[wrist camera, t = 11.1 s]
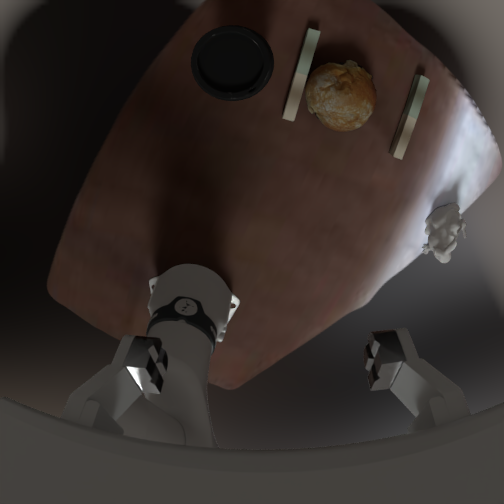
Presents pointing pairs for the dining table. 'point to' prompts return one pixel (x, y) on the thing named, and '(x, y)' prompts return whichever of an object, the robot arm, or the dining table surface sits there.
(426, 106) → the dining table surface
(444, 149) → the dining table surface
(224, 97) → the coffee cup
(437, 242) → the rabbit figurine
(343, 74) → the bread roll
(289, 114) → the channel
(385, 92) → the dining table surface
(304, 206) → the dining table surface
